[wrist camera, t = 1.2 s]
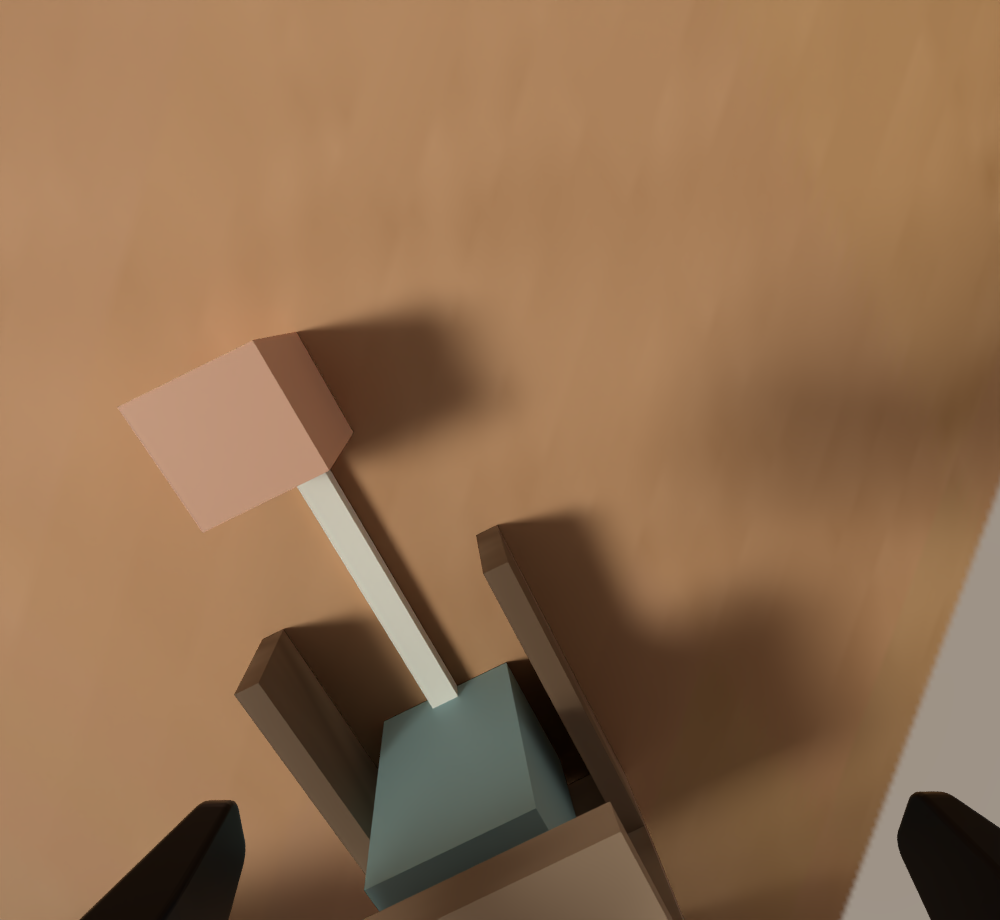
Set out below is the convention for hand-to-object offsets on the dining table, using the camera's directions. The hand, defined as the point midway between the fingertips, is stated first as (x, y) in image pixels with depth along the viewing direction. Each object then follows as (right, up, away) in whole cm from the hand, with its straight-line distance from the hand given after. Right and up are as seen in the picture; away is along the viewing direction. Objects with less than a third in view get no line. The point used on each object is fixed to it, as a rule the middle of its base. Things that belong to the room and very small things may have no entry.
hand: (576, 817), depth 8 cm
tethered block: (-5, 0, +13) cm, 13 cm away
